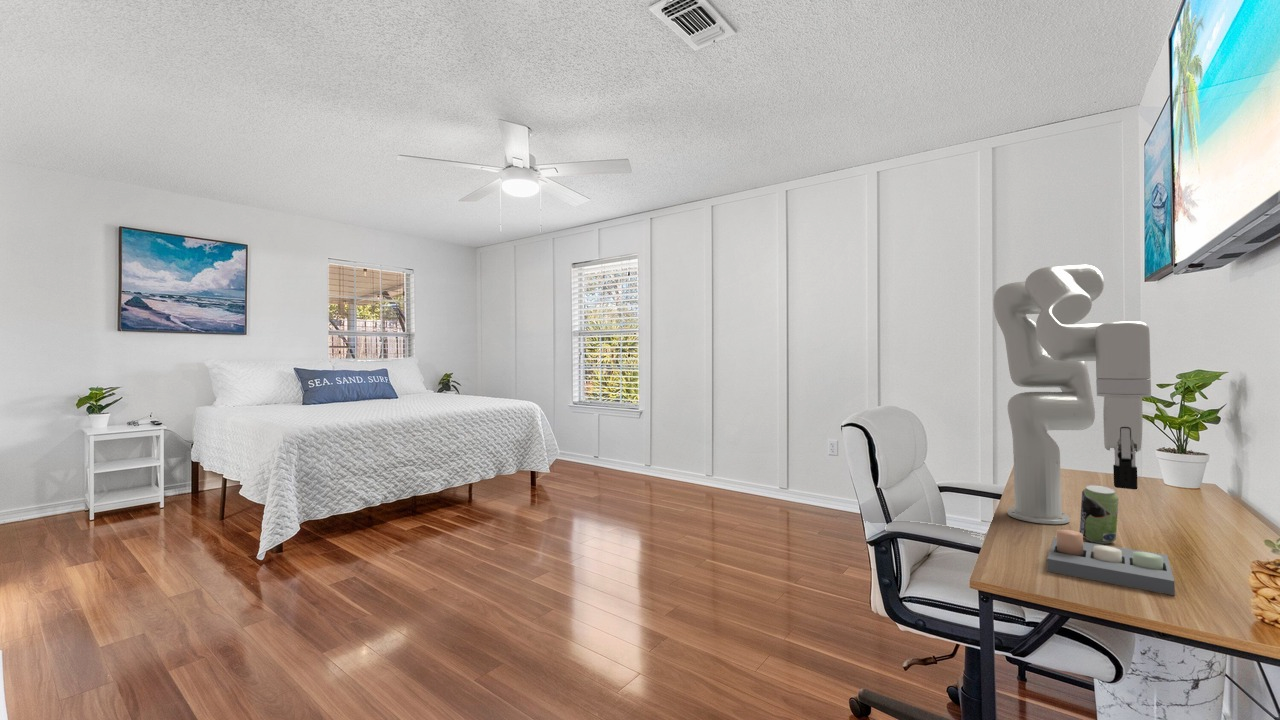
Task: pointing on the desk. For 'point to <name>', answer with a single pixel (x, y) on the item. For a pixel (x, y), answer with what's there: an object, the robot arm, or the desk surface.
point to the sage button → (1147, 560)
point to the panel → (1112, 569)
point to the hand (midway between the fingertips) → (1125, 487)
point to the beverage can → (1099, 514)
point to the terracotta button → (1070, 542)
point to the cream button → (1107, 554)
